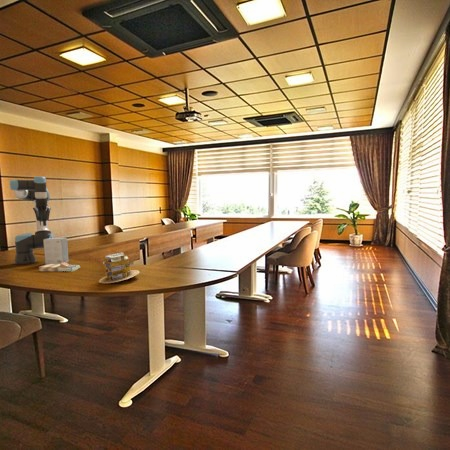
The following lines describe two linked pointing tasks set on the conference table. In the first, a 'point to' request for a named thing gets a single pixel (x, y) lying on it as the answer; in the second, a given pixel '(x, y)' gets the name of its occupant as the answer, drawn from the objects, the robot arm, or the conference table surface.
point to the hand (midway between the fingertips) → (43, 230)
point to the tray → (69, 269)
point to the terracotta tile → (64, 265)
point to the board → (49, 267)
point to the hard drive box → (55, 250)
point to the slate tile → (70, 266)
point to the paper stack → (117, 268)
